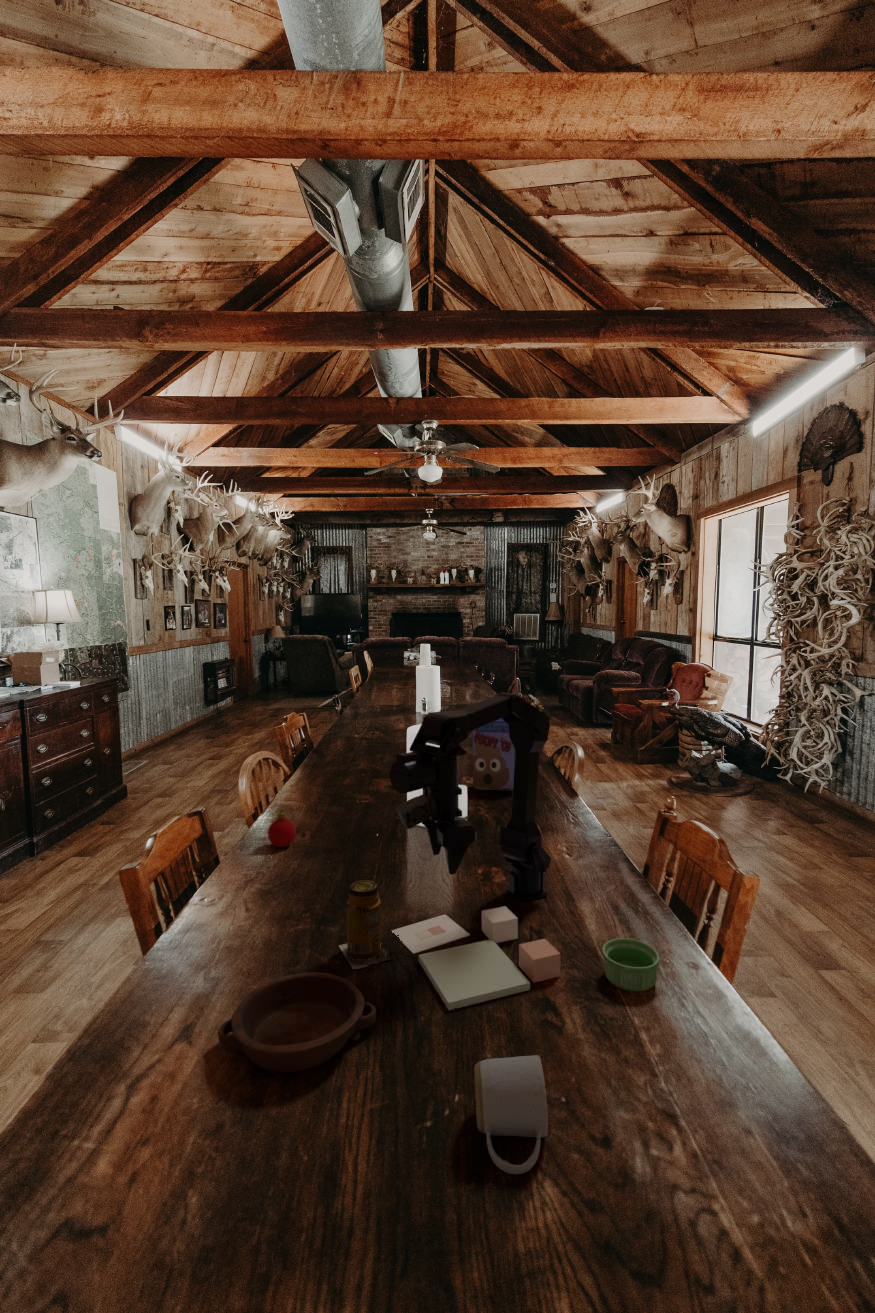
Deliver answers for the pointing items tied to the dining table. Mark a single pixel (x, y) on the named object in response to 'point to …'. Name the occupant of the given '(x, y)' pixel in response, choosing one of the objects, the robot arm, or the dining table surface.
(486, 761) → the cereal box
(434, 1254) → the dining table surface
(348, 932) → the condiment
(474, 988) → the baseplate
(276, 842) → the christmas ornament
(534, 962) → the terracotta brick
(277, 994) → the dish
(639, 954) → the ramekin
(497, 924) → the cream brick
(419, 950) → the page
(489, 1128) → the ceramic mug
